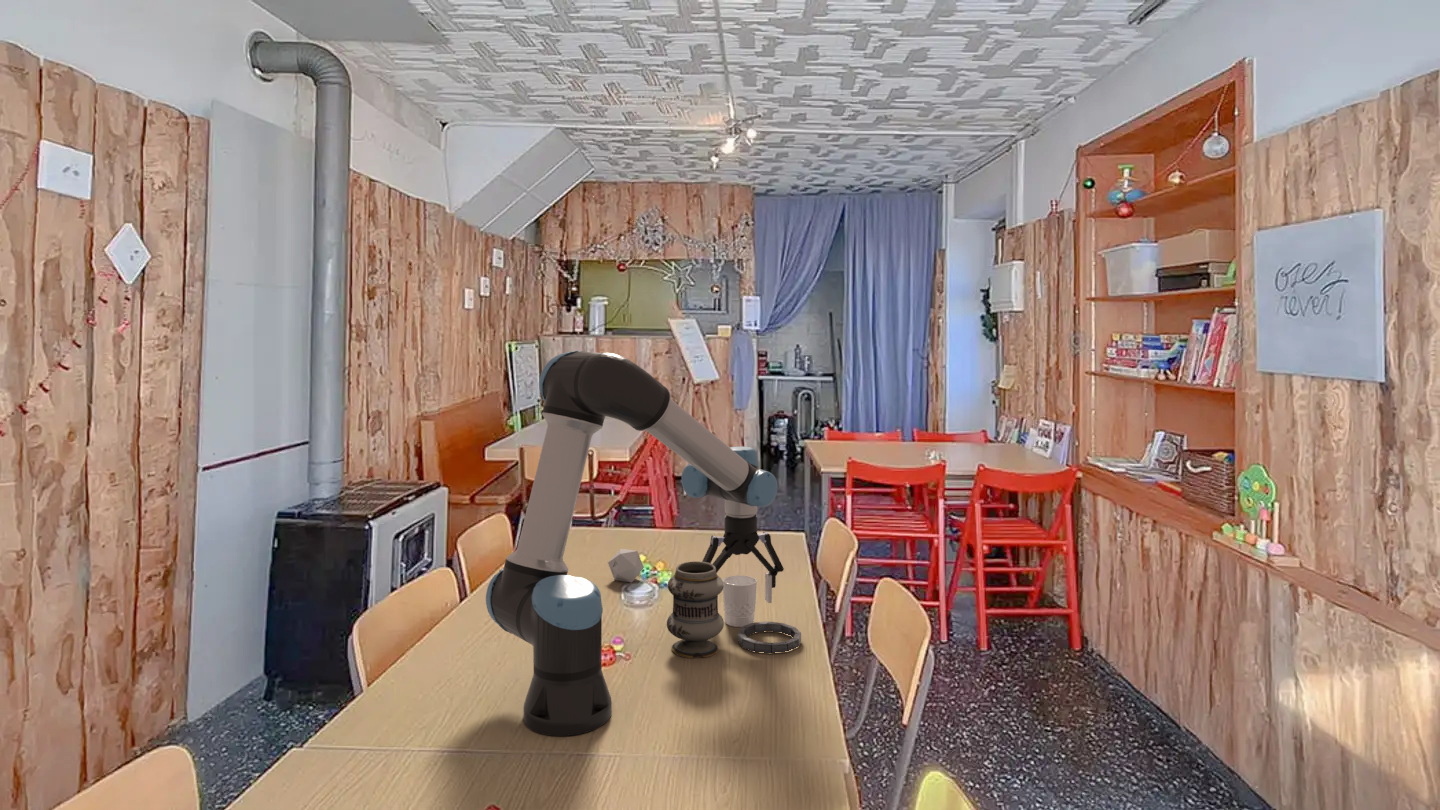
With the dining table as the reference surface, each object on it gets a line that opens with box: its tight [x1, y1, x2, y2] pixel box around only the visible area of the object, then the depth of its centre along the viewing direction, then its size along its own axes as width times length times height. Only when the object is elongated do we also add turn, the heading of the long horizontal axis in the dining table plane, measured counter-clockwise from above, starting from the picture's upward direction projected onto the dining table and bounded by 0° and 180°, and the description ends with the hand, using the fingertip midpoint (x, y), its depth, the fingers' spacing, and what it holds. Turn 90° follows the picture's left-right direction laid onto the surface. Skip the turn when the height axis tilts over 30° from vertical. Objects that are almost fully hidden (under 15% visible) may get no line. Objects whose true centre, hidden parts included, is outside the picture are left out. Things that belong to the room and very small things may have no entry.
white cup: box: [722, 574, 758, 628], centre depth 185 cm, size 8×8×10 cm
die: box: [607, 548, 645, 583], centre depth 217 cm, size 8×9×10 cm
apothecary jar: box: [666, 560, 725, 659], centre depth 169 cm, size 12×12×18 cm
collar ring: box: [737, 621, 802, 654], centre depth 174 cm, size 13×13×2 cm
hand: (740, 603), depth 186 cm, fingers open, 13 cm apart
